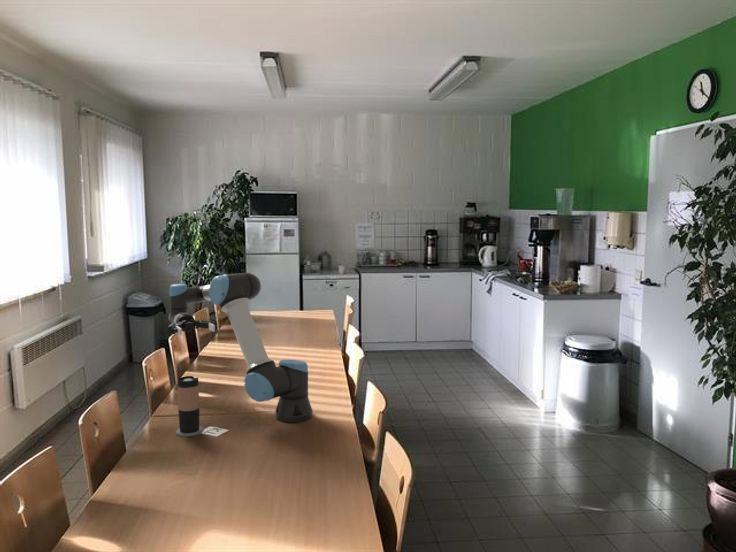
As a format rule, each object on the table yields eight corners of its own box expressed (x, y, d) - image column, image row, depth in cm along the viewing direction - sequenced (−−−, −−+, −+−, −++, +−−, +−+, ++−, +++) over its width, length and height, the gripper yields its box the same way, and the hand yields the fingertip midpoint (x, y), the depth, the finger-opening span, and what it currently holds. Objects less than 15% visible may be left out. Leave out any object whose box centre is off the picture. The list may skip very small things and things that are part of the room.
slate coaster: (209, 429, 227) (209, 427, 226) (190, 438, 218) (190, 436, 218) (189, 425, 231) (189, 423, 231) (170, 433, 222) (170, 432, 222)
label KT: (228, 430, 225) (228, 430, 225) (216, 436, 219) (216, 436, 219) (210, 426, 229) (210, 426, 229) (197, 432, 223) (197, 432, 223)
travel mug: (178, 434, 220) (176, 382, 217) (179, 427, 227) (177, 376, 225) (199, 432, 222) (198, 380, 219) (200, 425, 229) (198, 375, 227)
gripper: (212, 327, 266) (227, 336, 248) (155, 333, 253) (166, 342, 235) (212, 311, 265) (227, 318, 247) (154, 316, 253) (165, 324, 234)
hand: (197, 330), depth 241 cm, fingers open, 13 cm apart
